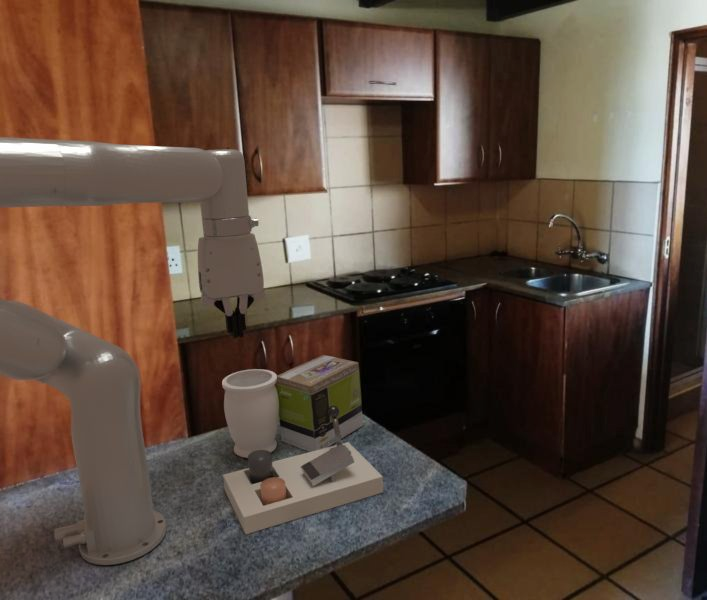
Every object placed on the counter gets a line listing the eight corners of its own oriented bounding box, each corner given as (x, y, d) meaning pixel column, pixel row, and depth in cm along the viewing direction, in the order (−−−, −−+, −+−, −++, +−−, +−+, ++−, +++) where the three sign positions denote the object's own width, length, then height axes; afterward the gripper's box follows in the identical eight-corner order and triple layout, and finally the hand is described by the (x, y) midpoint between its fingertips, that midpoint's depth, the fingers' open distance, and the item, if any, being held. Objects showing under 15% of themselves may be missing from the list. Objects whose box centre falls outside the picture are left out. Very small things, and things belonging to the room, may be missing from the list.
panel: (245, 534, 90) (243, 510, 89) (224, 490, 103) (222, 468, 102) (383, 492, 100) (382, 469, 99) (349, 456, 112) (348, 436, 111)
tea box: (328, 415, 130) (325, 352, 127) (363, 427, 124) (361, 361, 120) (279, 442, 119) (274, 373, 116) (315, 456, 113) (311, 384, 109)
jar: (267, 431, 124) (261, 364, 120) (291, 449, 116) (286, 378, 112) (220, 447, 118) (212, 377, 114) (242, 467, 110) (235, 393, 106)
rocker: (313, 486, 97) (310, 479, 96) (302, 472, 101) (299, 466, 101) (354, 462, 99) (352, 455, 99) (342, 449, 104) (340, 443, 103)
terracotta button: (266, 518, 94) (264, 493, 92) (259, 505, 97) (257, 481, 96) (290, 511, 95) (288, 486, 94) (282, 499, 99) (280, 475, 98)
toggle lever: (337, 451, 106) (329, 407, 106) (332, 450, 108) (324, 406, 108) (348, 448, 107) (340, 404, 107) (343, 447, 109) (335, 404, 109)
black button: (253, 487, 99) (251, 463, 98) (247, 476, 103) (245, 453, 102) (276, 481, 101) (274, 457, 100) (269, 470, 104) (267, 447, 103)
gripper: (264, 222, 101) (273, 323, 106) (176, 229, 95) (188, 337, 100) (277, 226, 95) (285, 334, 99) (183, 234, 89) (196, 349, 93)
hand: (236, 335), depth 99 cm, fingers closed
